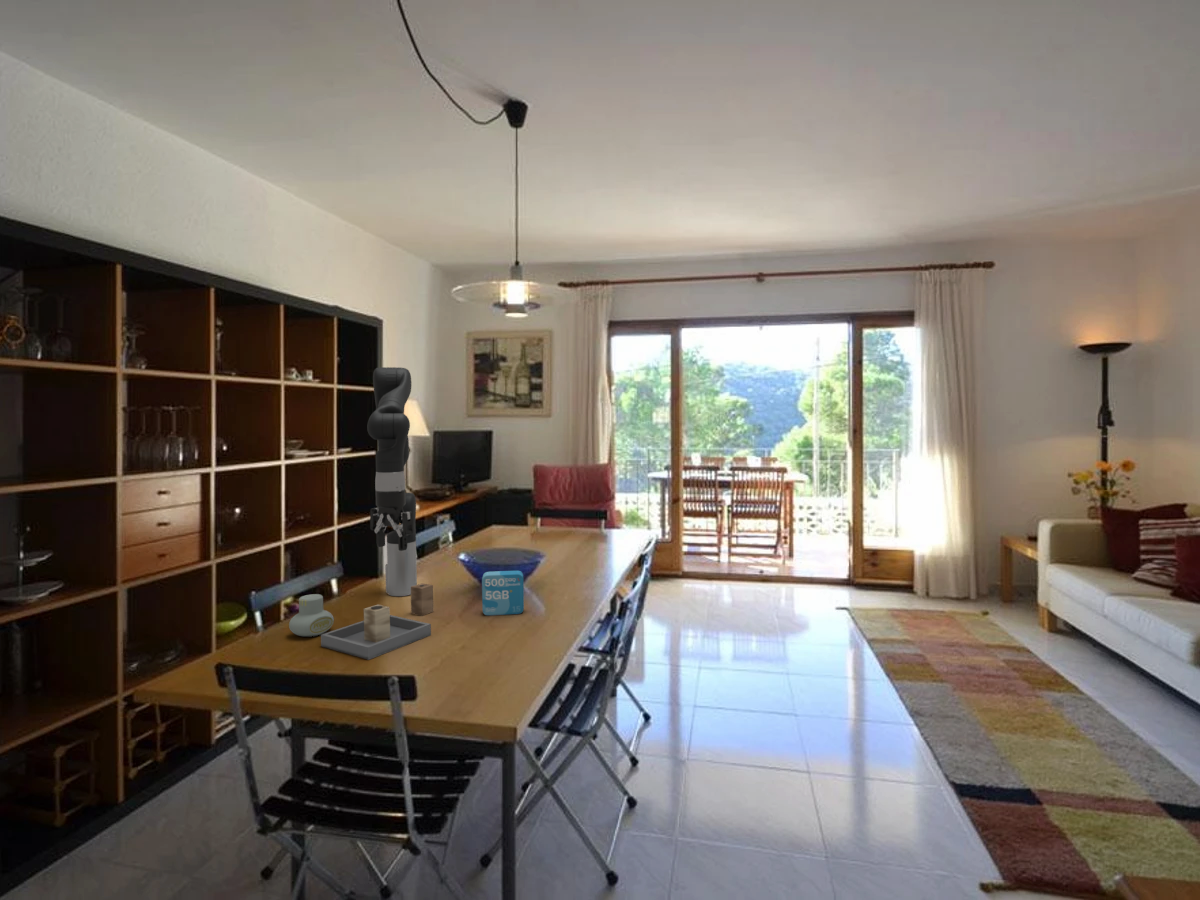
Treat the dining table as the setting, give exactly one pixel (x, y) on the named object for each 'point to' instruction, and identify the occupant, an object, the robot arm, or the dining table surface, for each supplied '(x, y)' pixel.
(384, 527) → the robot arm
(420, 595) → the full-size block
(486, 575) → the data package
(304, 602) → the air freshener
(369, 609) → the block
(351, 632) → the tray
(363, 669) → the dining table surface
